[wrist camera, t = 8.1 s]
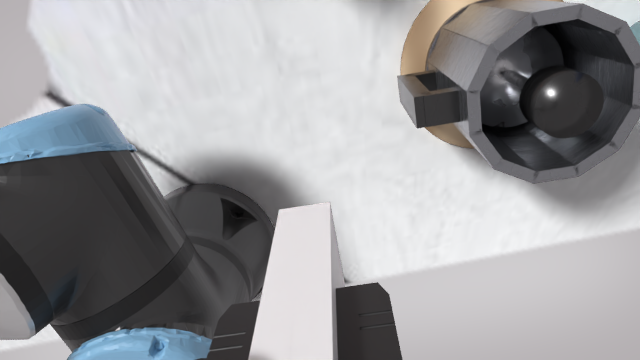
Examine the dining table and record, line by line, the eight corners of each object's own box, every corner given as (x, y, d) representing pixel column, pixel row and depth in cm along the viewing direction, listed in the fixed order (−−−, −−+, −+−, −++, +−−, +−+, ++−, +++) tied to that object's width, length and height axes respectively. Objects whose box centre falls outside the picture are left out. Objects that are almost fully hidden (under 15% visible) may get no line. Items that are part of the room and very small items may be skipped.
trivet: (409, 158, 52) (410, 160, 51) (390, -11, 46) (391, -11, 45) (574, 132, 51) (576, 134, 50) (577, -46, 44) (580, -46, 44)
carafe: (400, 141, 51) (429, 201, 37) (386, 16, 46) (412, 31, 32) (568, 114, 49) (663, 165, 35) (569, -17, 45) (679, -17, 31)
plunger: (457, 132, 45) (500, 181, 34) (449, 30, 42) (494, 47, 31) (559, 116, 44) (637, 160, 33) (560, 10, 41) (647, 20, 30)
